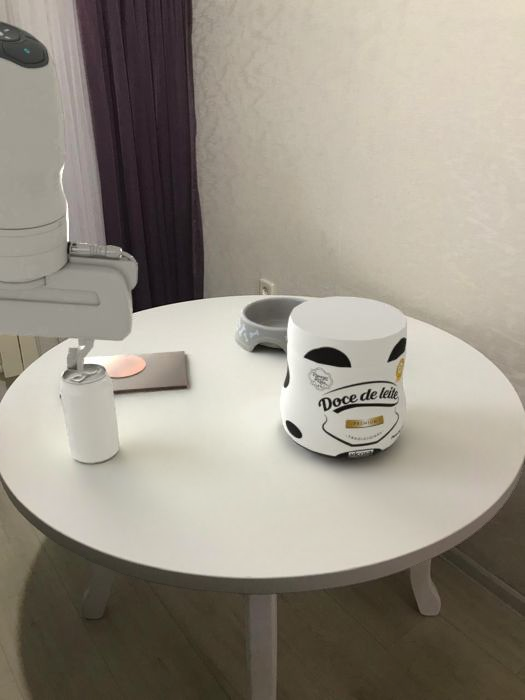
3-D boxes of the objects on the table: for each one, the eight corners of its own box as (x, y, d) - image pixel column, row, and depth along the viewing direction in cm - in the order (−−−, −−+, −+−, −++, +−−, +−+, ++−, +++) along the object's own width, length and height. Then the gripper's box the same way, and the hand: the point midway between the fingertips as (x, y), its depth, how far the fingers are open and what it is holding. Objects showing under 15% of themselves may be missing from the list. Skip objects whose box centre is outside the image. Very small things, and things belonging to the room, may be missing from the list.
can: (130, 446, 81) (121, 368, 76) (96, 471, 76) (83, 390, 71) (95, 432, 84) (84, 357, 79) (60, 456, 79) (46, 377, 74)
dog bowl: (318, 362, 104) (320, 334, 102) (222, 348, 109) (221, 322, 107) (337, 326, 119) (339, 301, 116) (251, 315, 124) (251, 291, 121)
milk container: (359, 488, 73) (370, 358, 65) (254, 437, 83) (253, 319, 75) (424, 429, 85) (440, 313, 77) (325, 391, 95) (331, 285, 87)
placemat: (60, 398, 93) (59, 394, 93) (71, 361, 104) (70, 357, 104) (187, 388, 96) (187, 384, 95) (184, 353, 107) (184, 350, 107)
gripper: (140, 233, 55) (135, 351, 63) (-102, 211, 51) (-74, 340, 59) (137, 265, 50) (132, 390, 58) (-132, 244, 46) (-97, 381, 54)
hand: (26, 365), depth 58 cm, fingers open, 8 cm apart
